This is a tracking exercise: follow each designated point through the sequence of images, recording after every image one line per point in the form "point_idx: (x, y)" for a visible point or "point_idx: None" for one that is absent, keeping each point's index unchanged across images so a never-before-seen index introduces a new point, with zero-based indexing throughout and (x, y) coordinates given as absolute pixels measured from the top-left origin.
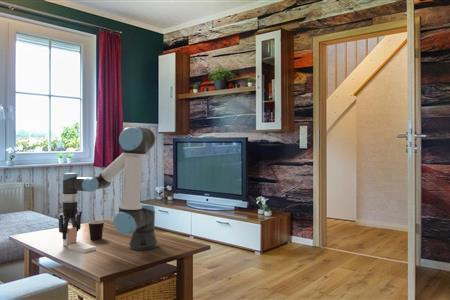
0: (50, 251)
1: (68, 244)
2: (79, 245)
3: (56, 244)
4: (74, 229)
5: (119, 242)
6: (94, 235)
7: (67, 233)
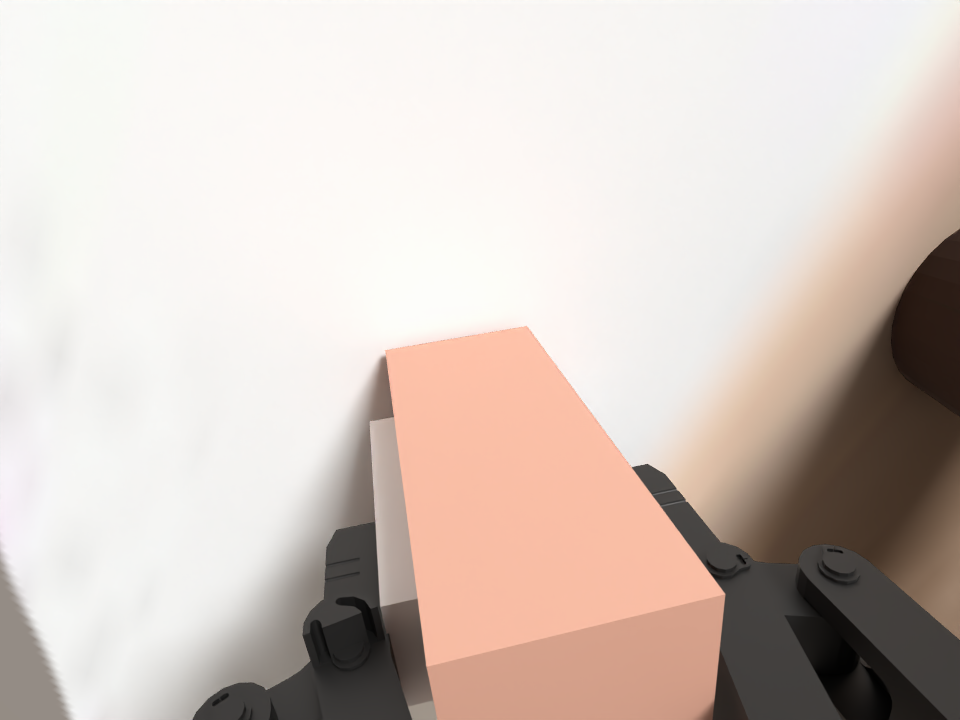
0: (71, 525)
1: None
2: None
3: (333, 115)
4: None
5: (951, 623)
6: None
7: (426, 699)
